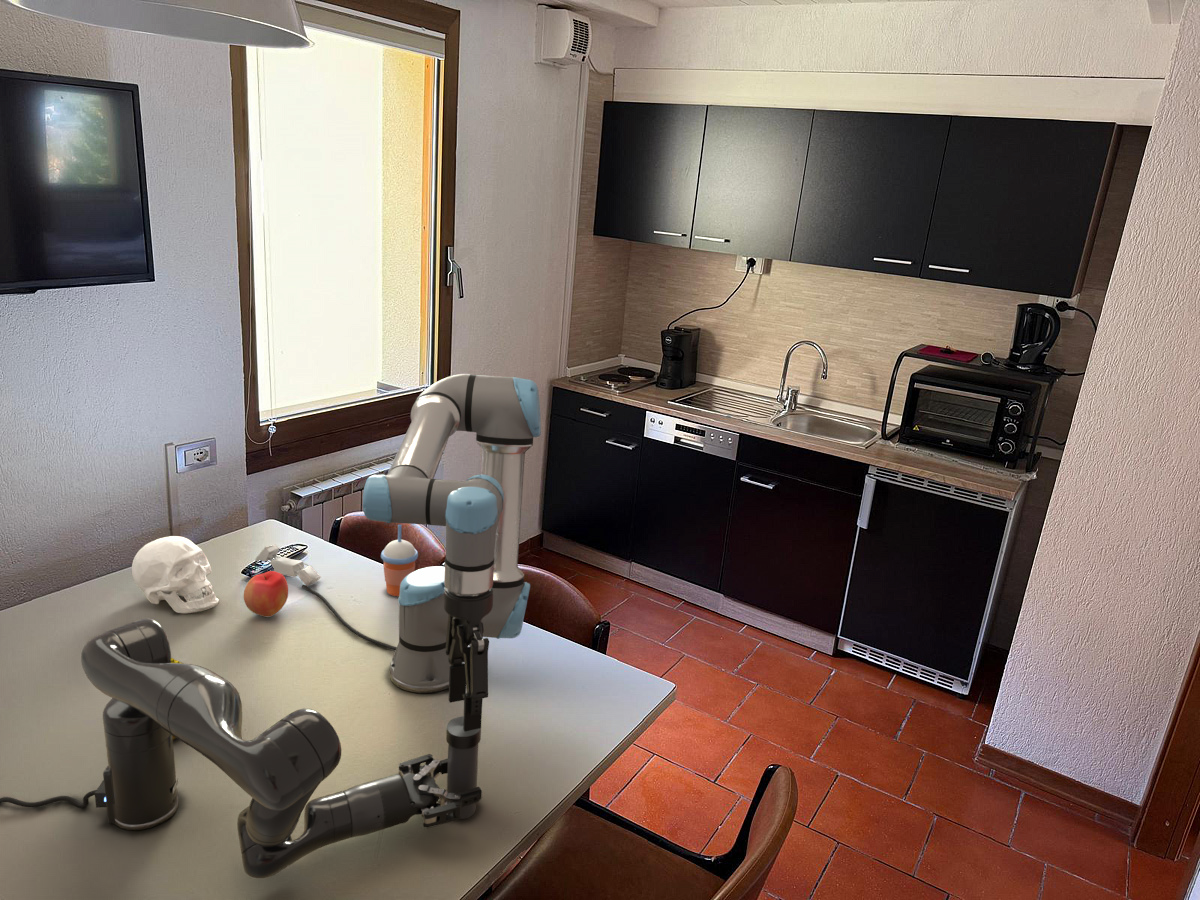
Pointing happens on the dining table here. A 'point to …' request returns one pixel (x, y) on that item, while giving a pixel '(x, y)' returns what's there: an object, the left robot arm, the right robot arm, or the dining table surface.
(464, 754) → the jar
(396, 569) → the cup with straw
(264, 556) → the clamp
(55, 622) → the dining table surface
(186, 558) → the skull
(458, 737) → the lid
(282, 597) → the apple
